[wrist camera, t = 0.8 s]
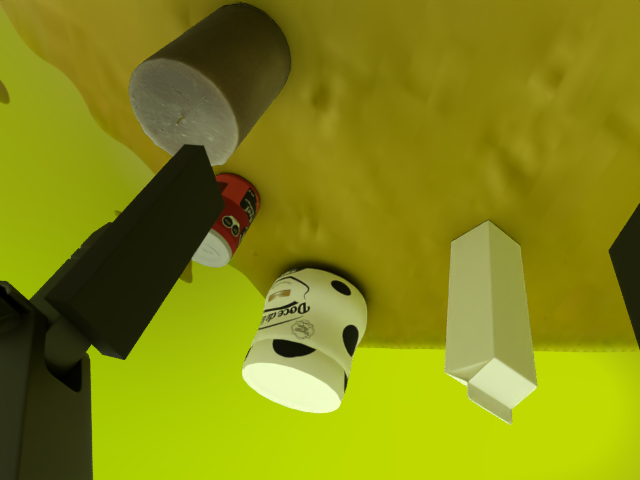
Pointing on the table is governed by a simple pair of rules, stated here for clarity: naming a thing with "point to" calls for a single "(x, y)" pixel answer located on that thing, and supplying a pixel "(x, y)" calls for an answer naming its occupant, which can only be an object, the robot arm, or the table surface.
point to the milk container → (306, 340)
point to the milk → (489, 321)
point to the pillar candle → (212, 82)
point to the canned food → (229, 221)
